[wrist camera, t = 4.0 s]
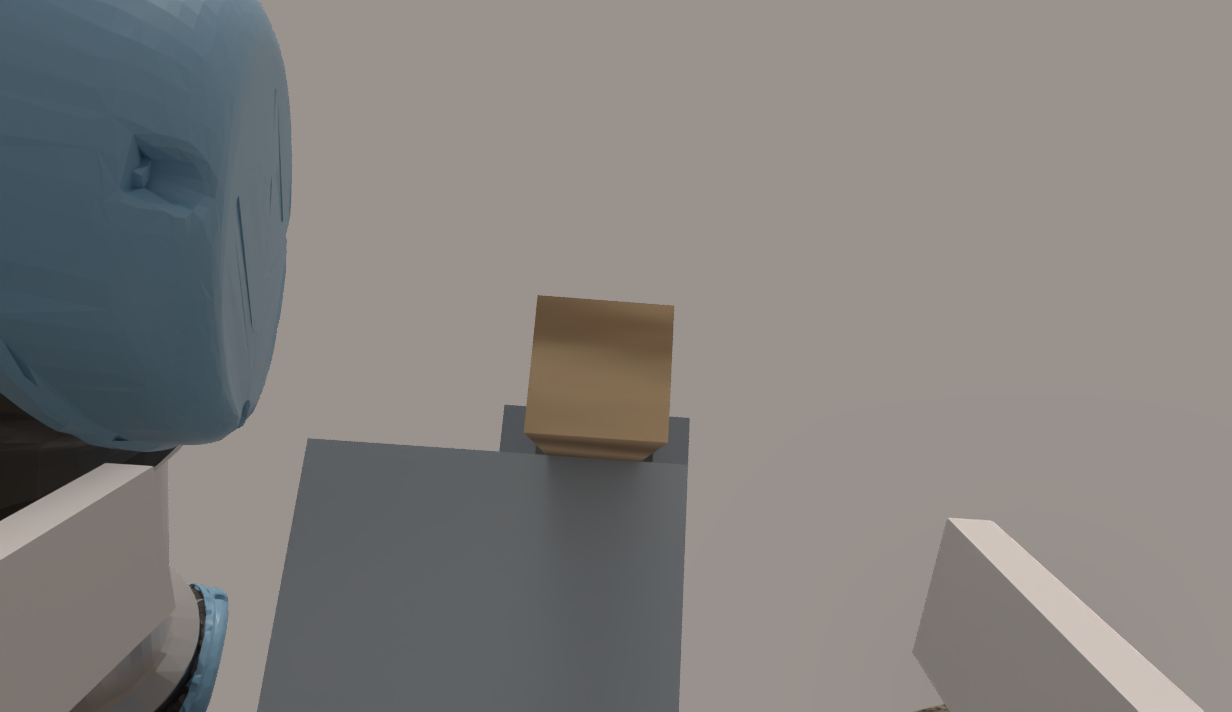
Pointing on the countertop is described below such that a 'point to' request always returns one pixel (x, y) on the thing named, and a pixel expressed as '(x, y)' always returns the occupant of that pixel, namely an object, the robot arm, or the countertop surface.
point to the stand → (481, 580)
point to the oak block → (600, 378)
